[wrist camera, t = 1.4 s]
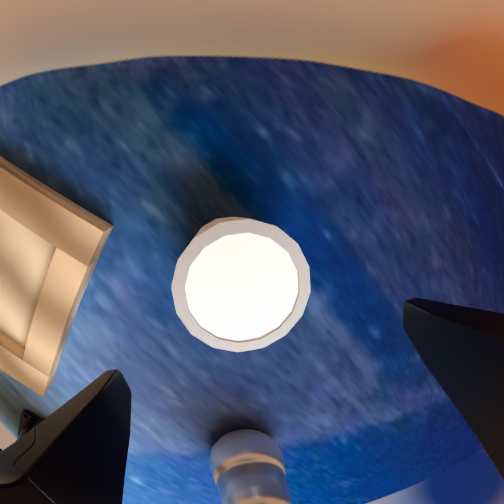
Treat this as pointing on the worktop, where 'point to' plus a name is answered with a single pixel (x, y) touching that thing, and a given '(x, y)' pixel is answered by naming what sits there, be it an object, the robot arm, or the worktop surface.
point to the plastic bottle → (249, 469)
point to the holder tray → (41, 273)
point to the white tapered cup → (240, 284)
